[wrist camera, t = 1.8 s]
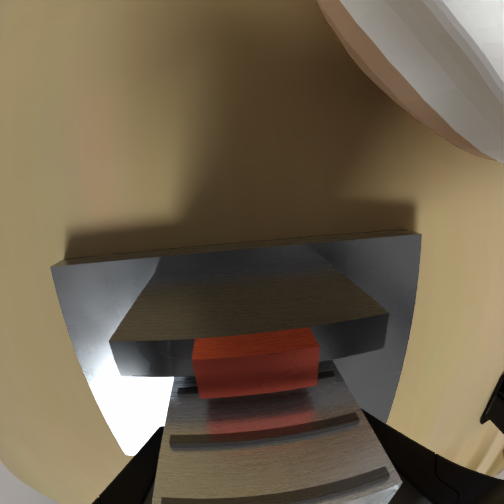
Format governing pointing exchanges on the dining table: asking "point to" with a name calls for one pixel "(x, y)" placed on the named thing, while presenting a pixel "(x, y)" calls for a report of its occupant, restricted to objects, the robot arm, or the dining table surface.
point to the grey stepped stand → (240, 321)
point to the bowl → (433, 62)
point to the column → (272, 448)
